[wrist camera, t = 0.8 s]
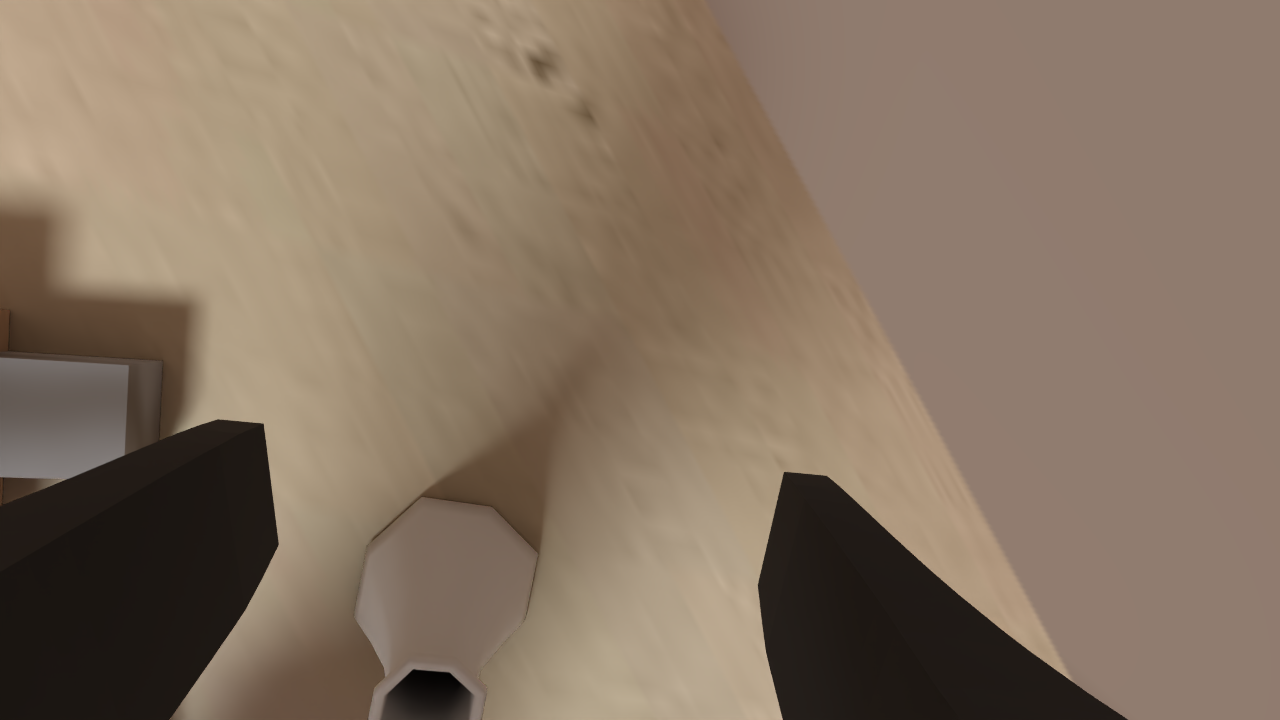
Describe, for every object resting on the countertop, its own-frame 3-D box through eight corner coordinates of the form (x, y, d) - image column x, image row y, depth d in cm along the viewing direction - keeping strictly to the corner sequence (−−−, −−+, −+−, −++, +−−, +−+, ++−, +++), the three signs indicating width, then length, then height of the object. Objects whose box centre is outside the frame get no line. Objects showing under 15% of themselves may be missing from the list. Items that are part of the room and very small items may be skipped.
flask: (322, 622, 28) (231, 787, 18) (413, 465, 28) (371, 543, 19) (482, 692, 29) (478, 877, 20) (566, 542, 30) (603, 651, 20)
